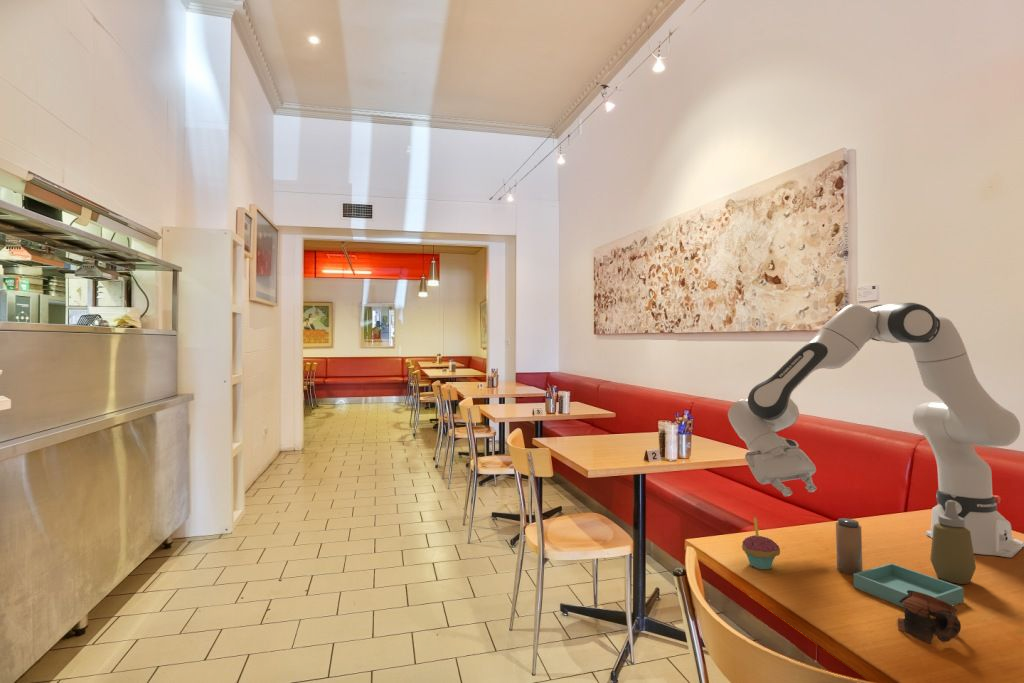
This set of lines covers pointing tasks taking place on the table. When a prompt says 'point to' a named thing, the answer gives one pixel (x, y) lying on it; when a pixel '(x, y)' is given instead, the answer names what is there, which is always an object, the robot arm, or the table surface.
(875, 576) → the tray
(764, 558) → the cupcake
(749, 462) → the robot arm
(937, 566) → the squeeze bottle
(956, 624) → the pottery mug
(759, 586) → the table surface
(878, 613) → the table surface
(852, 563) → the shaker
